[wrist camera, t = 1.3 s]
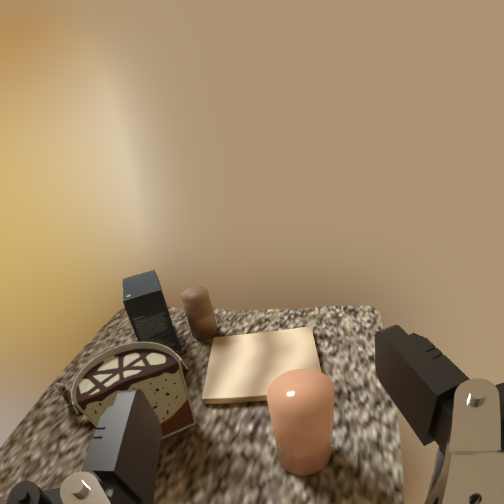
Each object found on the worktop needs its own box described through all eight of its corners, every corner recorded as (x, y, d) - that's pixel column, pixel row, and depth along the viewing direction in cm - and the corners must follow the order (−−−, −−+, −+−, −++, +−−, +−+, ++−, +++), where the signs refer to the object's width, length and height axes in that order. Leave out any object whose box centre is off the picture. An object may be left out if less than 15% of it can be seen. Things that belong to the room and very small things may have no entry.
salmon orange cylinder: (279, 478, 23) (267, 421, 19) (278, 437, 27) (266, 372, 24) (334, 471, 22) (339, 411, 19) (327, 431, 27) (328, 364, 23)
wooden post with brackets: (66, 394, 34) (59, 376, 32) (109, 427, 32) (104, 412, 30) (58, 401, 33) (51, 384, 30) (101, 436, 31) (96, 421, 29)
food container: (187, 387, 36) (163, 324, 32) (208, 417, 31) (183, 353, 27) (101, 423, 30) (63, 363, 27) (112, 458, 25) (66, 400, 22)
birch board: (203, 404, 33) (201, 398, 33) (215, 342, 44) (213, 337, 44) (324, 393, 32) (324, 387, 32) (311, 331, 43) (311, 326, 43)
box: (182, 351, 43) (161, 288, 39) (146, 362, 41) (121, 300, 37) (173, 324, 50) (155, 268, 46) (141, 334, 48) (121, 278, 44)
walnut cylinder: (190, 340, 45) (178, 301, 43) (195, 325, 49) (184, 288, 46) (216, 338, 45) (205, 298, 42) (218, 323, 49) (209, 285, 46)
